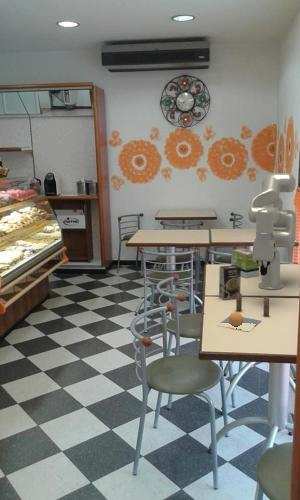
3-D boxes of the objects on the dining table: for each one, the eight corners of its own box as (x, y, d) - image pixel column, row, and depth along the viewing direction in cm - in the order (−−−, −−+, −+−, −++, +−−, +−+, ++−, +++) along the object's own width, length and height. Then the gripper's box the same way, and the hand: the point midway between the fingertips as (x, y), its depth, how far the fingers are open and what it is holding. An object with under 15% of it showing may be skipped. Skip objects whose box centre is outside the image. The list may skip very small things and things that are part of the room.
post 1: (237, 309, 197) (237, 293, 195) (242, 310, 195) (242, 294, 194) (235, 311, 195) (235, 294, 193) (240, 312, 193) (240, 295, 192)
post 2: (264, 314, 189) (264, 297, 188) (269, 315, 188) (270, 298, 186) (262, 316, 187) (262, 299, 186) (267, 317, 186) (268, 299, 184)
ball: (226, 327, 177) (232, 321, 181) (240, 330, 173) (245, 324, 178) (226, 314, 175) (232, 308, 180) (239, 316, 172) (245, 311, 176)
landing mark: (231, 315, 190) (231, 314, 190) (261, 321, 182) (261, 320, 182) (217, 325, 179) (217, 325, 179) (248, 332, 171) (248, 331, 171)
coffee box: (224, 300, 211) (224, 268, 207) (218, 296, 217) (218, 266, 213) (240, 298, 213) (241, 267, 210) (235, 294, 219) (235, 264, 216)
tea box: (230, 273, 261) (230, 249, 258) (243, 271, 266) (244, 247, 263) (245, 278, 248) (246, 254, 245) (259, 276, 252) (260, 252, 249)
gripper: (283, 236, 194) (282, 274, 197) (252, 233, 202) (251, 271, 206) (277, 238, 188) (276, 278, 191) (245, 236, 196) (245, 274, 200)
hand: (263, 274), depth 199 cm, fingers closed
